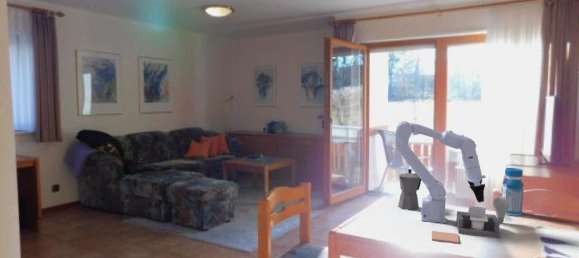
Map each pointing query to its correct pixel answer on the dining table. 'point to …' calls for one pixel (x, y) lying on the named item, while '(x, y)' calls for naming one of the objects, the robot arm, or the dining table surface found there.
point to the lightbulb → (500, 207)
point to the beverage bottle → (513, 190)
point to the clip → (477, 214)
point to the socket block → (491, 225)
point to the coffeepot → (409, 190)
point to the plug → (477, 225)
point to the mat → (445, 237)
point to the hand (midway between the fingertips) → (479, 199)
